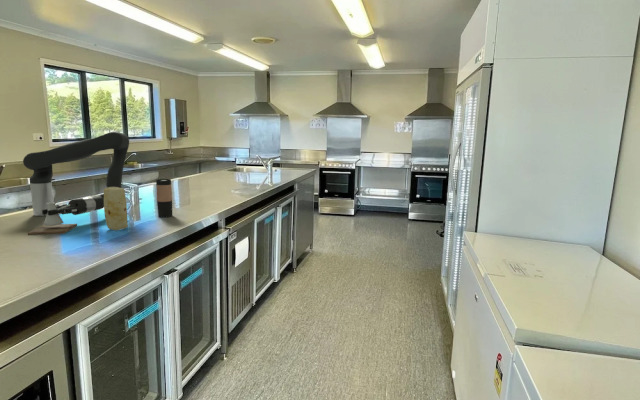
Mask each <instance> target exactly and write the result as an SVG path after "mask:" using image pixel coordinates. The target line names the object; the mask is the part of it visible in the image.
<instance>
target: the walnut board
mask: <svg viewBox="0 0 640 400" xmlns="http://www.w3.org/2000/svg"><path fill="white" fill-rule="evenodd" d="M76 227H78V223H62V224H60V225H54V226H45V225H43V224H42V225H40V226H38V227H36V228H34V229H32V230H30V231H27V235H28V236H29V235H31V236H32V235H59V234H60V235H61V234H62V235H63V234H66V233H67V232H69V231H71V230H72V229H75V228H76Z"/></svg>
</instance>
